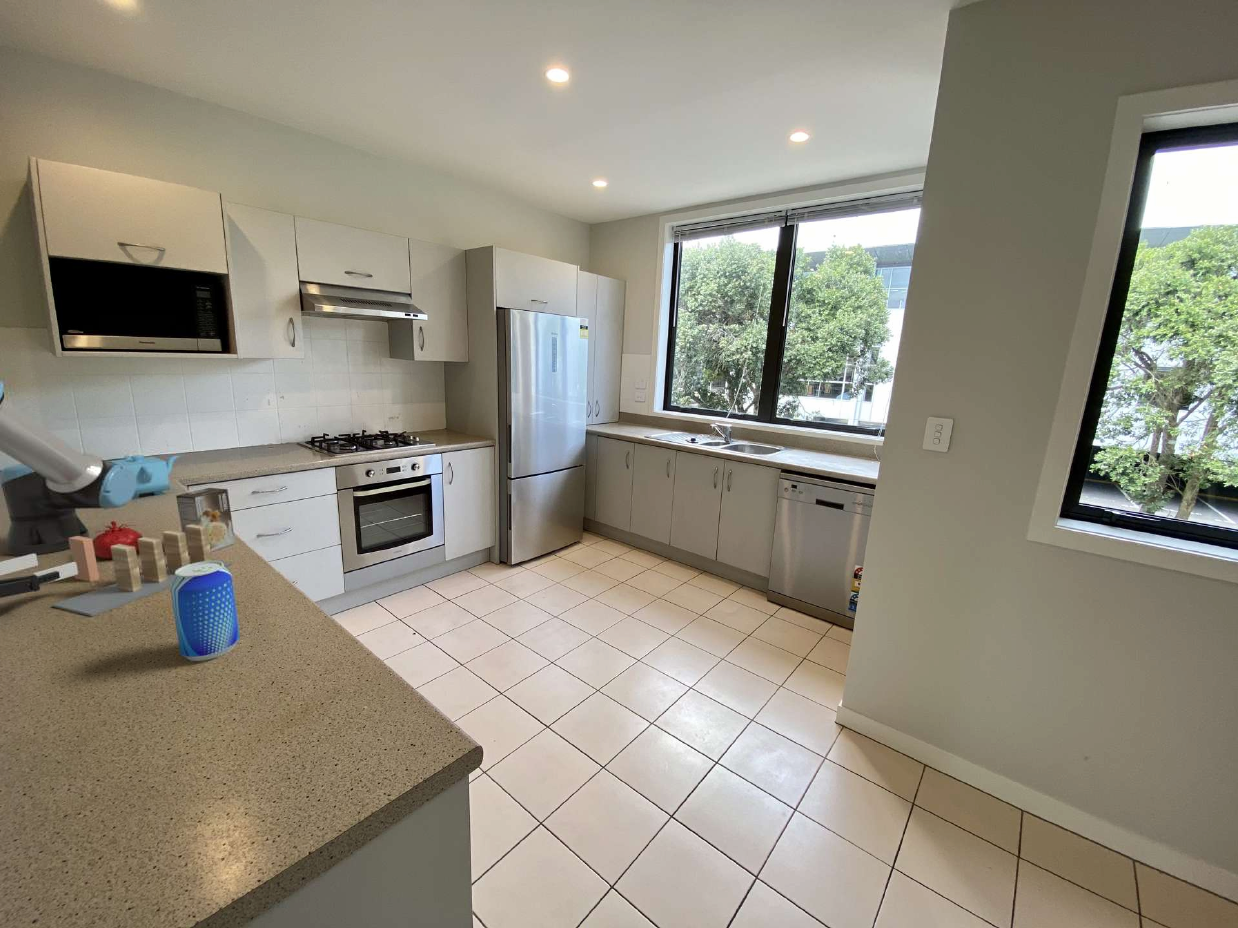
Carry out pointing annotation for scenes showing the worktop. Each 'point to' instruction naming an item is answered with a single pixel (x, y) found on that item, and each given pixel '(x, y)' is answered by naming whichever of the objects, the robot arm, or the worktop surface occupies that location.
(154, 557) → the tile
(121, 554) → the tile
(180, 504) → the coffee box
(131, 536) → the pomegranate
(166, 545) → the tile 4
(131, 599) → the slate board
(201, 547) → the wooden block
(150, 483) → the teakettle
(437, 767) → the worktop surface
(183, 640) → the beer can
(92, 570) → the tile
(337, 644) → the worktop surface
